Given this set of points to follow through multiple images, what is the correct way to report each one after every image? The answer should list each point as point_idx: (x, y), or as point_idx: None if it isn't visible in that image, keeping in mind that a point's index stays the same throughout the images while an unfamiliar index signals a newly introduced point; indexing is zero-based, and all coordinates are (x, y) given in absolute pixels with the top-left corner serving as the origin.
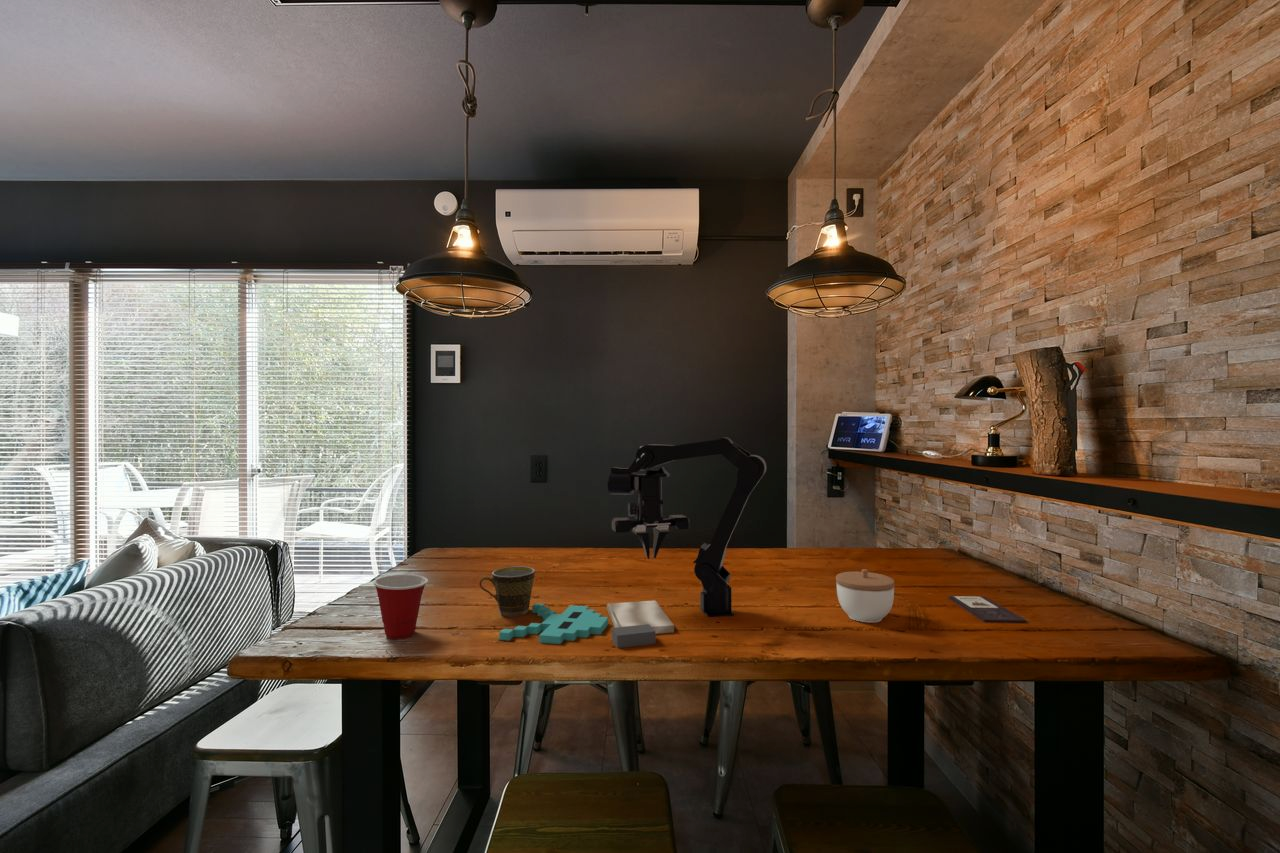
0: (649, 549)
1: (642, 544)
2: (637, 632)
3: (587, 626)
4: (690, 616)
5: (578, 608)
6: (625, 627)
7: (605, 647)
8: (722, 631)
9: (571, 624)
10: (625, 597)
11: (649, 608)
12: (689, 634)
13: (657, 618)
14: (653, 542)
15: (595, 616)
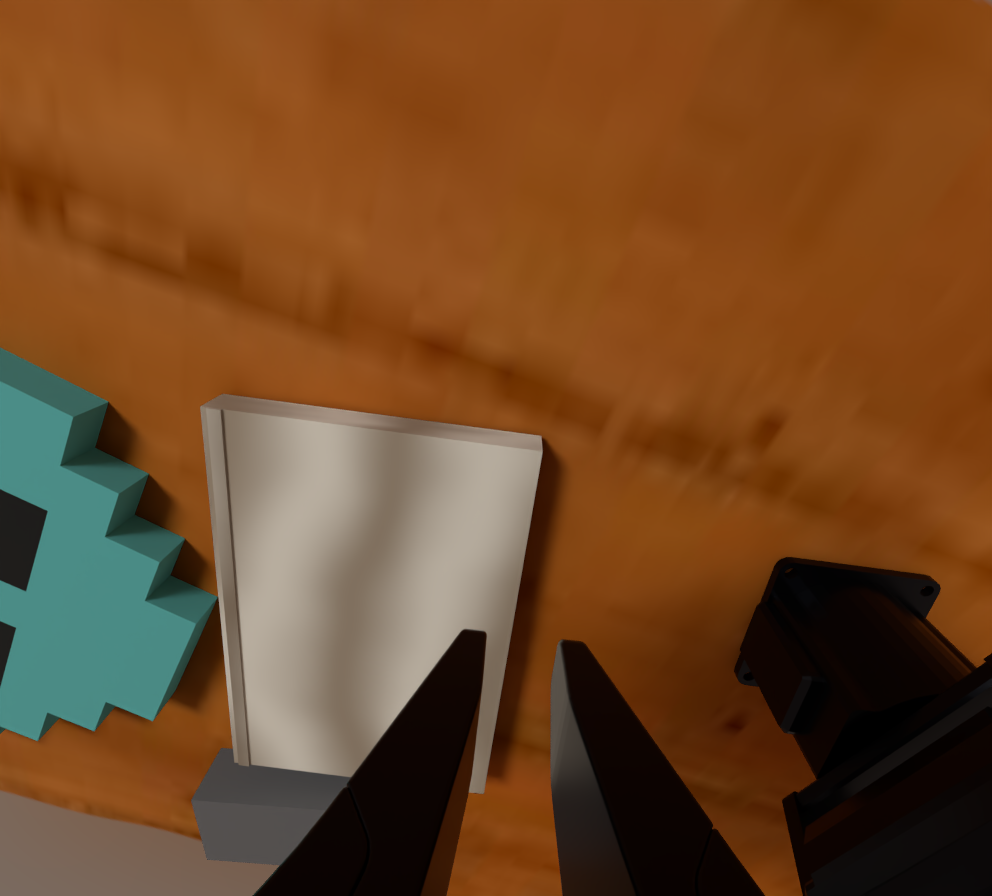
0: (452, 866)
1: (335, 819)
2: None
3: (92, 695)
4: (658, 628)
5: (11, 437)
6: (249, 812)
7: (191, 783)
8: None
9: (10, 653)
10: (405, 113)
11: (450, 576)
12: (540, 787)
13: None
14: (618, 874)
15: (126, 592)
